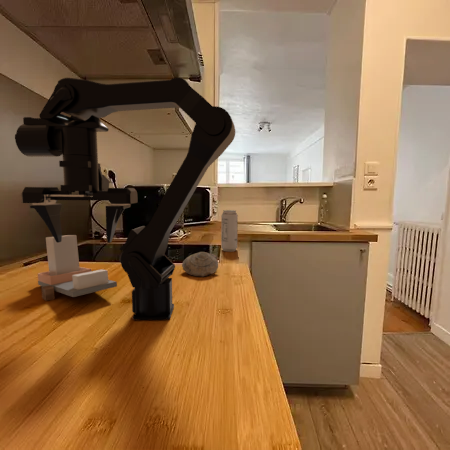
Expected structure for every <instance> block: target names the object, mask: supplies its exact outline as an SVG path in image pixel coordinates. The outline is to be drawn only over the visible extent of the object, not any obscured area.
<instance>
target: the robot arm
mask: <svg viewBox="0 0 450 450" xmlns="http://www.w3.org/2000/svg"><path fill="white" fill-rule="evenodd" d="M174 108H175V109H176V108H177V109H180V110H182V111H183V112H184V113H185V114H186V115H187V117H189V118H190V119H191V120H192V121H193V122H194V123H195V125H194V127H193V130H192V133H191V136H190V141H189V146H188V150H187V154H186V156H185V158H184V160H183V162H182V163H181V165H180V167H178V169H177V170H178V171H177V172H176V174H175V176H174V178H173V179H172V181H171V183H169V186H168V188H167V189H166V191H165V193H164V195H163V197H162V199H161V200H160V202H159V204H158V205H157V207H156V209H155V211H154V213H153V214H152V216H151V218H150V219H149V220H148V223H147V224H146V226H145V225H142V226H139V227H136V228H134V229H133V228H132V229H130V231H129V233H128V235H127V238H126V241H125V242H124V243H123V245H122V246H121V247H119V250H120V251H122V252H121V253H120V257H119V263H120V265H121V268H122V269H123V272H125V273H126V275H127V276H128V280H129V282H130V284H131V287H132V288H133V289H132V291H131V308H132V309H131V311H132V313H133V316H132V320H133V321H148V320H149V321H153V320H154V321H156V320H157V321H159V320H161V321H162V320H163V321H164V320H165V321H166V320H167V321H168V320H170V319H171V317H172V314H173V310H174V307H175V303H173V278H172V277H171V276H172V275H173V274H174V271H175V268H176V264H175V263H174V262H173V261H172V260H171V259H170V258H169V257H168V256H167V255H166V254H165V253H166V252H167V248H168V245H169V241H170V240H169V239H170V235H171V231H172V230H173V228H174V227H175V225H176V223H177V222H178V220H179V218H180V217H181V215H182V213H183V212H184V210H185V208H186V207H187V205H188V203H189V201H190V199H191V198H192V196H193V194H194V193H195V192H196V190H197V188H198V186H199V184H200V183H201V180H202V179H203V178H204V175H205V174H206V173H207V171H208V169H209V167H210V166H212V165H213V163H215V162H216V160H218V158H219V157H221V156H222V155H223V153H224V152H225V151H226V150H227V148H228V147H230V145H231V144H232V142H234V139H235V137H236V128H235V123H234V121H233V119H232V116H231V115H230V113H229V112H228V111H227V110H226V109H225V108H223V107H220V106H218V105H217V106H213V105H212V104H211V103H210V102H209V101H207V99H206V98H204V97H203V96H202V95H201V94H200V93H199V92H198V91H196V90H195V89H194V88H192V86H191V85H190V84H189V82H188V81H187V80H186V79H184V78H183V77H174V78H171V79H160V80H146V81H145V80H144V81H135V82H134V81H133V82H132V81H131V82H119V83H101V82H96V81H93V80H92V81H91V80H88V79H83V78H76V77H75V78H73V77H63V78H60V79H59V80H57V83H56V85H55V86H54V89H53V91H52V94H51V95H50V97H48V99H47V102H46V103H45V104H44V107H43V108H42V110H41V112H40V113H39V115H38V116H39V117H37V118H35V117H30V116H23V118H22V119H23V122H22V124H21V125H19V126H18V127H17V130H16V133H15V134H14V140H15V145H16V147H17V149H18V150H19V152H20V153H22V154H23V155H24V156H26V157H31V158H33V157H38V158H39V157H43V158H44V157H46V158H47V157H48V158H49V157H50V158H51V157H55V158H56V157H61V156H62V160H59V161H58V164H59V168H62V171H63V174H62V175H63V184H60V190H59V187H55V186H54V187H53V186H43V187H42V186H25V187H23V189H22V191H21V193H20V198H21V203H22V204H30V205H29V209H34V210H35V212H36V213H37V214H38V215H39V216H40V218H41V220H42V221H43V222H44V223H45V225H46V227H47V228H48V230H49V232H50V234H51V235H52V237H54V239H55V240H56V242H57V243H59V242H61V241H62V236H63V234H62V233H63V231H62V223H61V222H62V221H61V210H62V206H63V203H57V202H58V201H102V202H103V201H105V202H106V201H108V202H109V203H110V205H105V233H106V234H105V235H106V242H107V244H109V243H111V242H112V241H113V238H114V235H115V232H116V229H117V225H118V224H119V223H118V222H119V220H120V218H121V216H122V214H123V212H124V211H125V209H128V208H131V206H132V204H137V203H139V202H138V192H137V190H136V189H135V188H134V187H110V180H109V179H108V177H106V176H105V175H104V174H103V172H102V166H101V163H99V160H98V159H99V157H98V156H99V155H98V134H97V133H99V132H100V133H102V132H104V133H106V132H109V130H110V129H109V128H108V127H107V126H106V125H105V124H104V123H103V122H102V121H101V119H102V118H106V117H108V116H109V115H111V114H113V113H117V112H125V111H127V112H129V111H140V110H142V111H143V110H146V111H147V110H158V109H160V110H161V109H174ZM63 113H64V114H63ZM65 114H67V115H69V116H67V115H65ZM76 192H78V194H73V193H76Z"/></svg>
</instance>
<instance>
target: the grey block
mask: <svg viewBox="0 0 450 450" xmlns="http://www.w3.org/2000/svg"><path fill="white" fill-rule="evenodd" d="M45 242H46V243H45V244H46V245H45V247H46V253H47V263H48V265H47V266H48V271H49V275H50V276H55V275H60V274H66V273H71V272H76V271H80V267H81V266H80V261H79V260H80V259H79V250H78V239H77V235H76V234H67V235H62V241H61V242H59V243H57V242H56V240H55V239H54V237H53V236H47V237H45Z"/></svg>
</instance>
